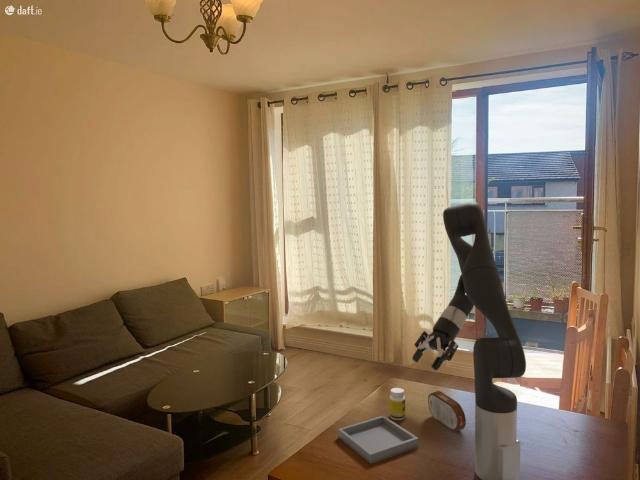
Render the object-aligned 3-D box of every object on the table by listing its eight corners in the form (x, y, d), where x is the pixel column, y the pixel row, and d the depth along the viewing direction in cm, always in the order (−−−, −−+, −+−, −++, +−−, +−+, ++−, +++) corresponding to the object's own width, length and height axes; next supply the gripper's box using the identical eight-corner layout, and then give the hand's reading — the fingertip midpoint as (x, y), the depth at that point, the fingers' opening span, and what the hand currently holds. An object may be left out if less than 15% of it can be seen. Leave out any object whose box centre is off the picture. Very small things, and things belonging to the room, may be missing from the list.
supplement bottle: (405, 421, 141) (405, 393, 140) (389, 420, 142) (388, 393, 141) (405, 413, 146) (405, 387, 145) (390, 413, 147) (389, 386, 146)
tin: (466, 434, 132) (466, 405, 132) (457, 437, 131) (457, 407, 130) (434, 412, 146) (434, 386, 146) (426, 414, 145) (426, 388, 144)
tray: (418, 447, 126) (418, 438, 126) (370, 464, 119) (370, 454, 119) (383, 423, 140) (383, 415, 140) (338, 437, 133) (338, 429, 132)
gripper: (428, 312, 158) (402, 352, 153) (461, 321, 146) (433, 364, 141) (439, 325, 161) (414, 364, 156) (473, 335, 149) (446, 378, 144)
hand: (423, 364), depth 148 cm, fingers open, 8 cm apart
